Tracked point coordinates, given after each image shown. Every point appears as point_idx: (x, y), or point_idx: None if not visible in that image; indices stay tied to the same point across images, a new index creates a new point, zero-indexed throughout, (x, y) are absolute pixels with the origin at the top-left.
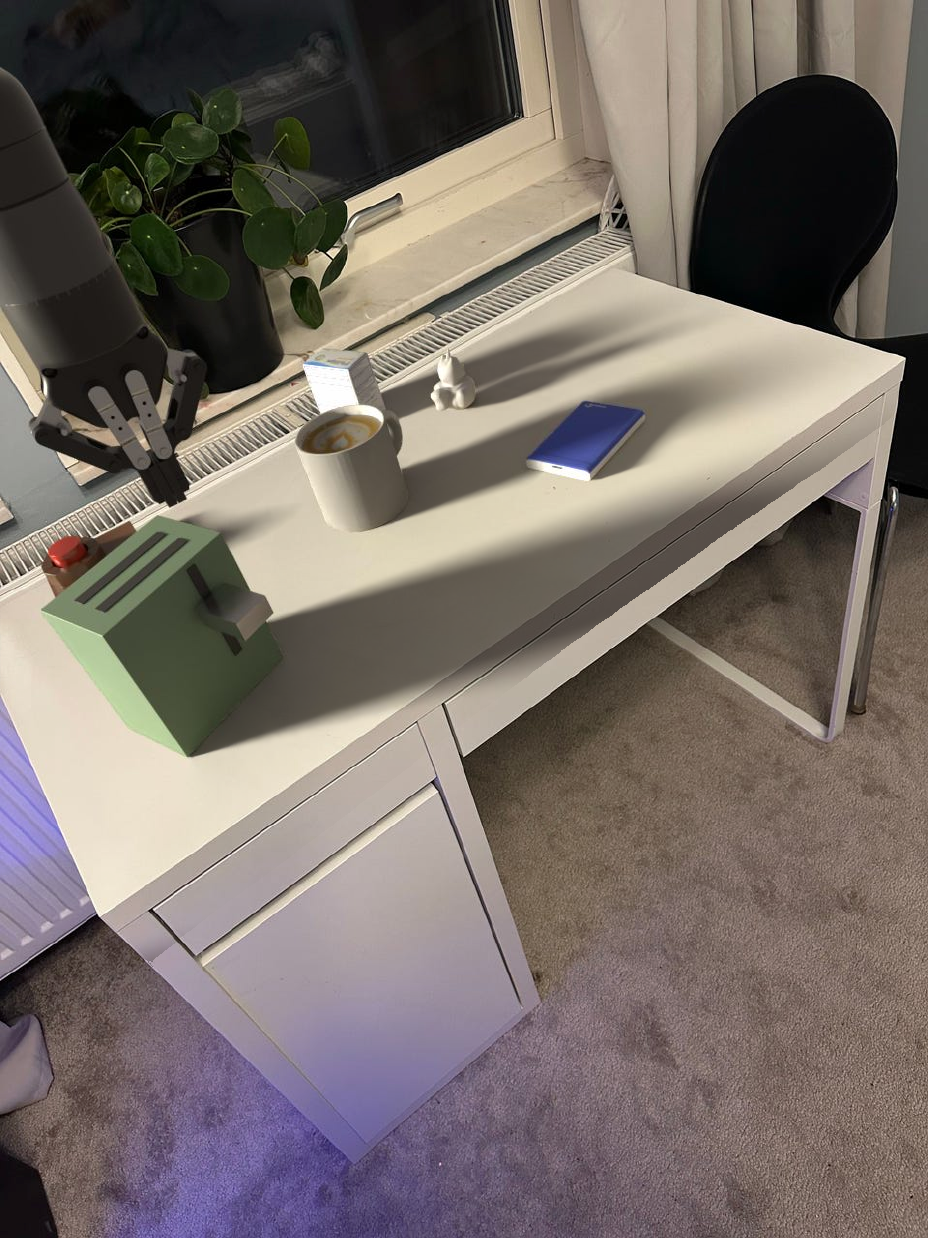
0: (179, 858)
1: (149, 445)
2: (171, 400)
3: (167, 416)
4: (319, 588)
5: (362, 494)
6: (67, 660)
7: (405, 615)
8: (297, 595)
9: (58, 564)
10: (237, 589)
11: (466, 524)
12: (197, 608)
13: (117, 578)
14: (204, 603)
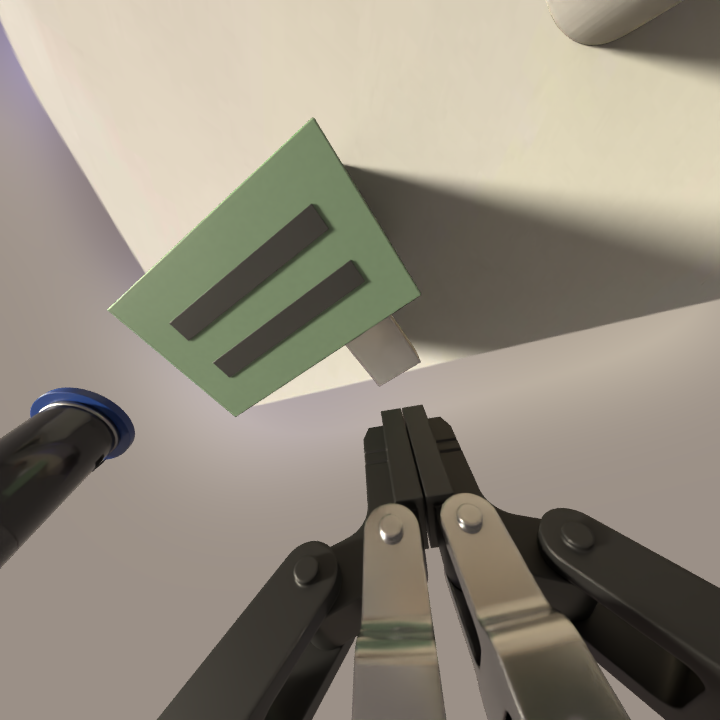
0: (276, 400)
1: (444, 548)
2: (681, 656)
3: (583, 583)
4: (459, 148)
5: (638, 8)
6: (100, 49)
7: (507, 265)
8: (431, 142)
9: None
10: (394, 332)
11: (659, 145)
12: None
13: (240, 308)
14: None
